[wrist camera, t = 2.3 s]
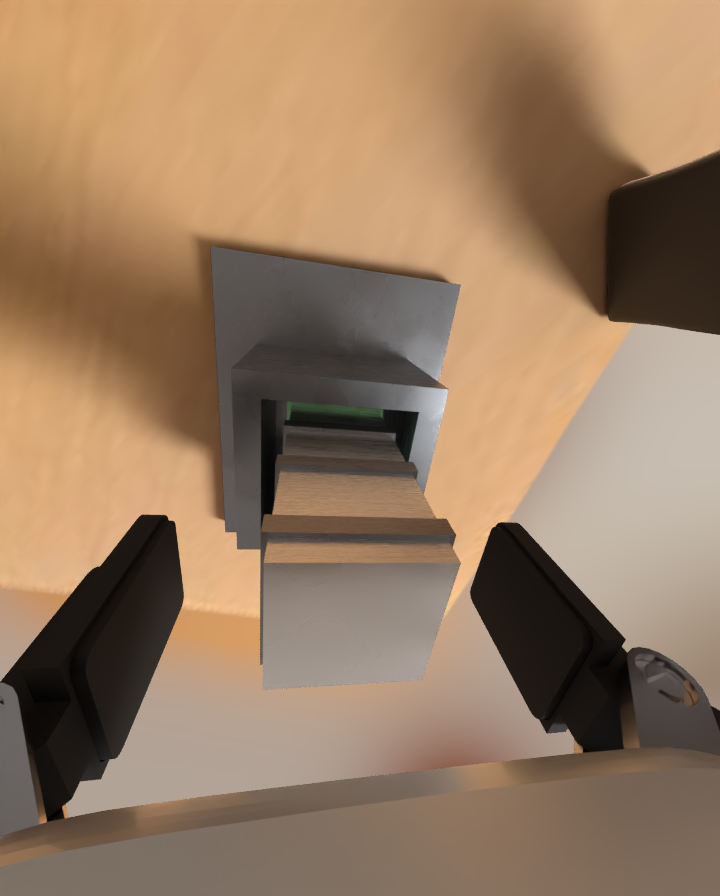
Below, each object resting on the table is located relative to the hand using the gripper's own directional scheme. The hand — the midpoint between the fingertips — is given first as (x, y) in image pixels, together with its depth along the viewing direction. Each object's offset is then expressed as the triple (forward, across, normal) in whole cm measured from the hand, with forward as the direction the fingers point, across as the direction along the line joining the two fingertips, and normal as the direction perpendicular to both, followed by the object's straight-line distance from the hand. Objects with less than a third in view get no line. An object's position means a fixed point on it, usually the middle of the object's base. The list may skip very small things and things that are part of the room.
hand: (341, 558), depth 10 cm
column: (+10, 0, 0) cm, 10 cm away
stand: (+11, 0, 0) cm, 11 cm away
